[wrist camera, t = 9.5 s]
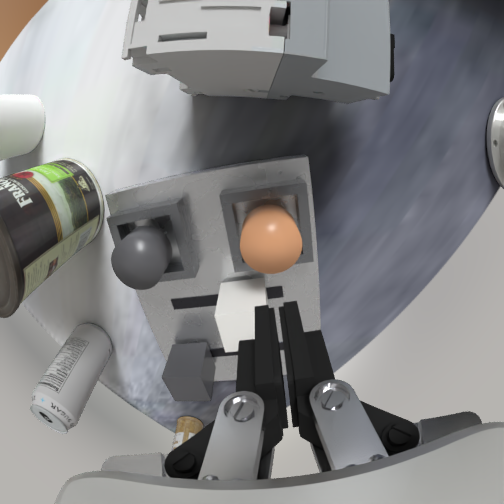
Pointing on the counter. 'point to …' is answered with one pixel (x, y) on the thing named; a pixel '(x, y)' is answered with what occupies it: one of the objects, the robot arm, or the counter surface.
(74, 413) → the energy drink can
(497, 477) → the robot arm
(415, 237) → the counter surface
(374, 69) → the circuit breaker
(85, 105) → the counter surface
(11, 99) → the cylindrical container
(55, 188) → the coffee can
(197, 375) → the slider black
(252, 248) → the button orange
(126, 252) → the button black
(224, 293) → the slider white
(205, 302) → the panel
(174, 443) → the sprinkles bottle
